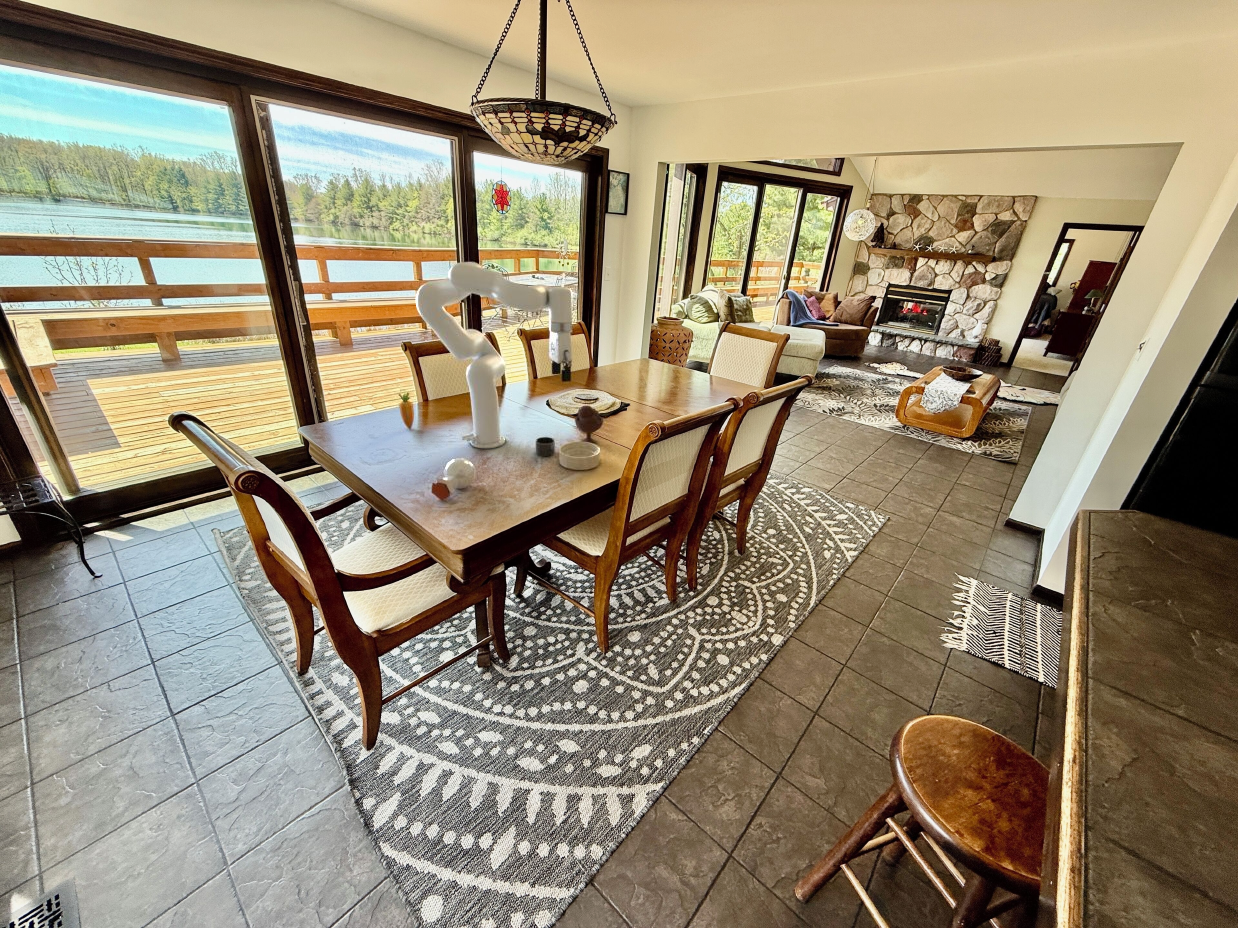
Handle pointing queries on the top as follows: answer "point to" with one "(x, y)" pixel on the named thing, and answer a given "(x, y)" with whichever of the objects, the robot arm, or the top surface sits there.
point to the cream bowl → (579, 455)
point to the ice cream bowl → (588, 422)
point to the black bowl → (545, 446)
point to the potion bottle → (454, 478)
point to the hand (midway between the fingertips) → (561, 377)
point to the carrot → (406, 410)
